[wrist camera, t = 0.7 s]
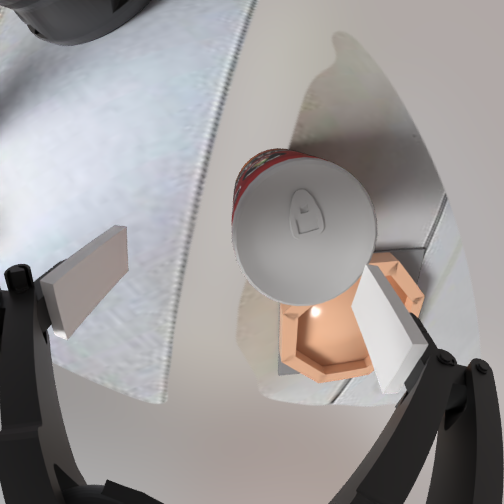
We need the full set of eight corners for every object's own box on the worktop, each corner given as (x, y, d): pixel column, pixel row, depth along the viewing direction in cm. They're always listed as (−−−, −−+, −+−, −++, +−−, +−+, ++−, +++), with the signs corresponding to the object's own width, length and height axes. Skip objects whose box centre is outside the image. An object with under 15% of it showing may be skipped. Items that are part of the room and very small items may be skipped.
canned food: (294, 131, 22) (340, 130, 12) (337, 210, 25) (396, 263, 15) (215, 178, 23) (197, 213, 13) (264, 252, 26) (280, 329, 16)
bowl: (280, 259, 26) (283, 269, 24) (424, 249, 26) (434, 257, 25) (278, 375, 33) (280, 387, 31) (394, 357, 33) (399, 367, 31)
